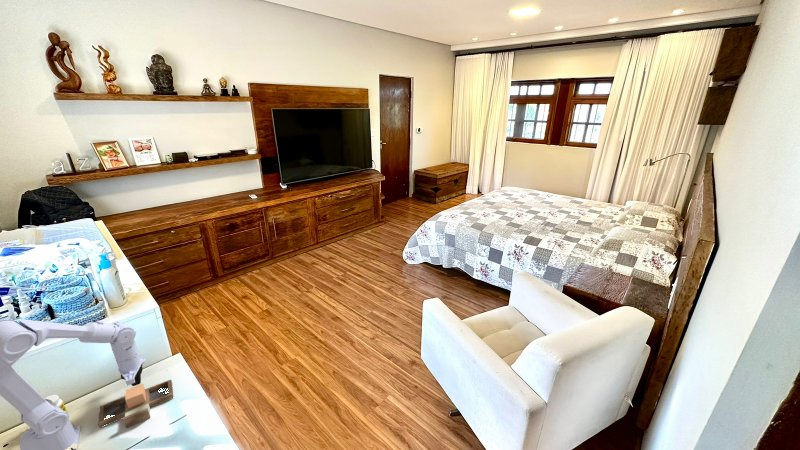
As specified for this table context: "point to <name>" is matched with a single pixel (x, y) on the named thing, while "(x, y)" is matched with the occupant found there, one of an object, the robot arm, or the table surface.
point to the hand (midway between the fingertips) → (136, 383)
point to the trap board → (138, 411)
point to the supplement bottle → (57, 402)
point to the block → (135, 396)
